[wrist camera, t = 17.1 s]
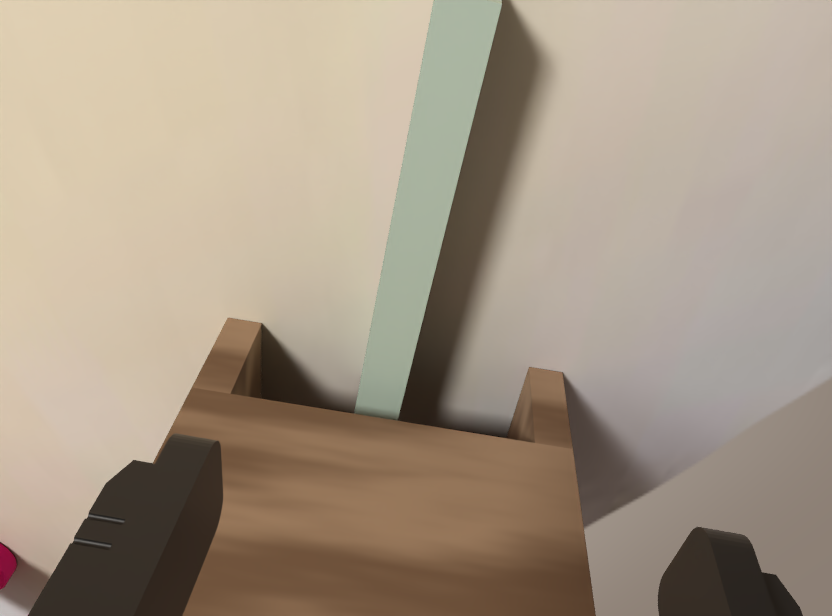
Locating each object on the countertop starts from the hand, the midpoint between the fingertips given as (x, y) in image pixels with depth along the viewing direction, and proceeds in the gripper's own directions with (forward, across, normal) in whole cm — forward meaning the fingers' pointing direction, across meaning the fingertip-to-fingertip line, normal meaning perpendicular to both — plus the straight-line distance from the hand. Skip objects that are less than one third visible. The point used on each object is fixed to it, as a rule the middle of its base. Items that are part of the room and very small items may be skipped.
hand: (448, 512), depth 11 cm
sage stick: (+24, +2, +8) cm, 25 cm away
